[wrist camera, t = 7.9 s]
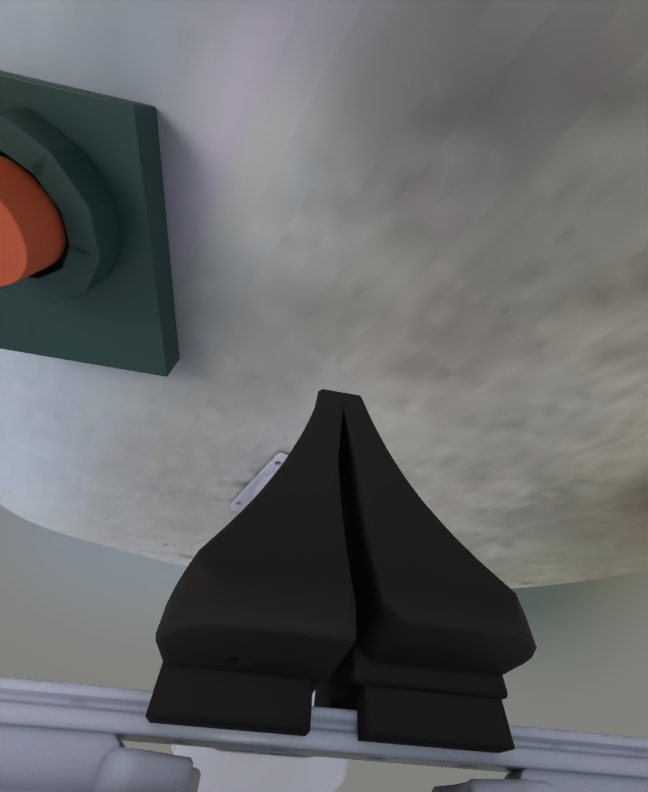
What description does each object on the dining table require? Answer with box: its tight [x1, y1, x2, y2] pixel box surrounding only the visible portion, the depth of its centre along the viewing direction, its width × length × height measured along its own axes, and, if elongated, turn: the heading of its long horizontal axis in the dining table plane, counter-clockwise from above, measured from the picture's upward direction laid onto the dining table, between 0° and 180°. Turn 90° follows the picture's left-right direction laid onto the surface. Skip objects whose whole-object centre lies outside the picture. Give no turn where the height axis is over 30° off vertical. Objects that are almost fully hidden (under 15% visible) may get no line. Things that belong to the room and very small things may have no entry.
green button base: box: [0, 71, 179, 376], centre depth 17 cm, size 13×10×4 cm
